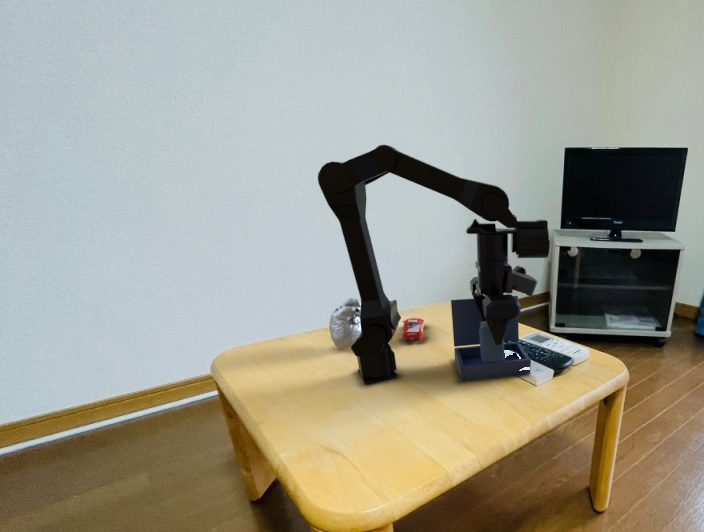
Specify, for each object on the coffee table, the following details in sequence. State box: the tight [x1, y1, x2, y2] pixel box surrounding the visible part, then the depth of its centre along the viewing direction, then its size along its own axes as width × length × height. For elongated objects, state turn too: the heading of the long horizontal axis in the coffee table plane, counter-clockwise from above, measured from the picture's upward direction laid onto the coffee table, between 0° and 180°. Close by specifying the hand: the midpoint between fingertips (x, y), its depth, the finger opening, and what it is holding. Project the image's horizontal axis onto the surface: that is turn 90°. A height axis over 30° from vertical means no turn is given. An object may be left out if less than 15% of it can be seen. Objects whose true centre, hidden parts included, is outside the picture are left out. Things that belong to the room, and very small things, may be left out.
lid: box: [450, 295, 520, 348], centre depth 88 cm, size 10×15×5 cm
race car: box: [401, 317, 425, 342], centre depth 101 cm, size 13×5×4 cm, turn 9°
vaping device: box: [479, 322, 505, 362], centre depth 80 cm, size 3×5×12 cm, turn 102°
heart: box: [328, 297, 361, 351], centre depth 92 cm, size 10×10×12 cm
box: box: [453, 341, 532, 383], centre depth 84 cm, size 10×15×3 cm, turn 105°
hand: (493, 335), depth 79 cm, fingers open, 9 cm apart
